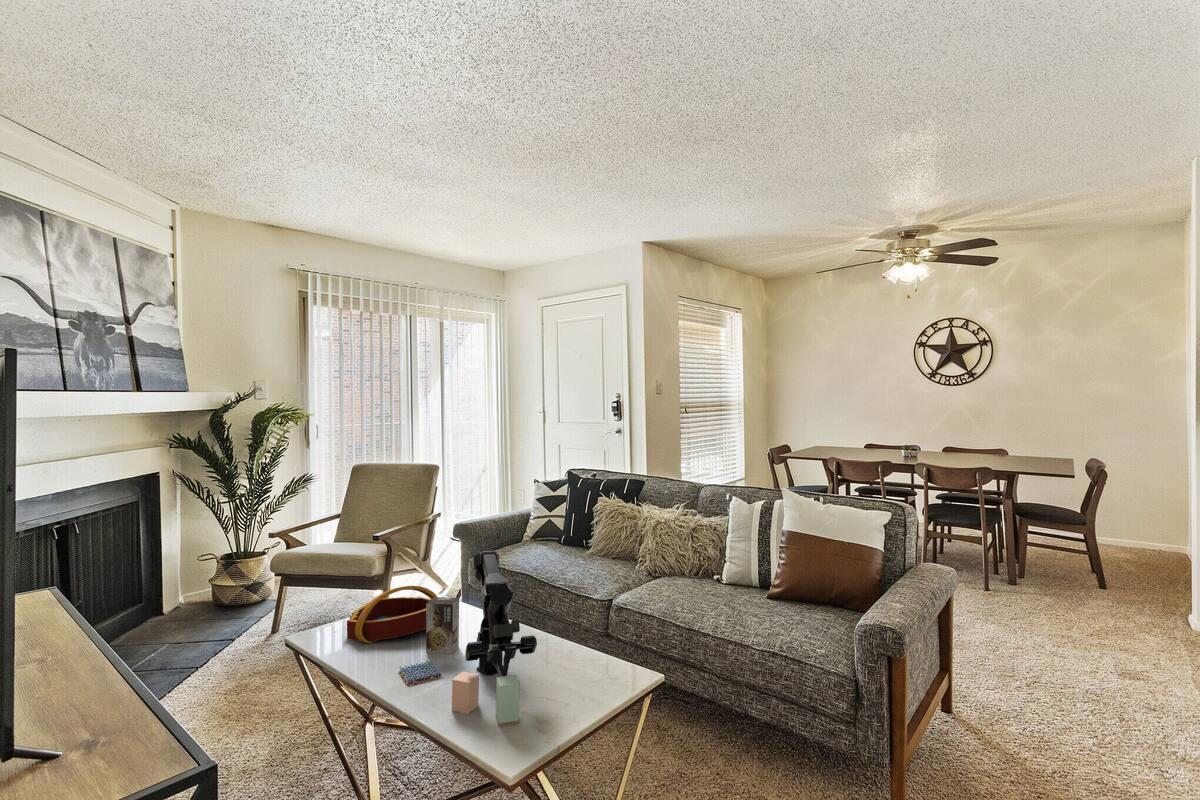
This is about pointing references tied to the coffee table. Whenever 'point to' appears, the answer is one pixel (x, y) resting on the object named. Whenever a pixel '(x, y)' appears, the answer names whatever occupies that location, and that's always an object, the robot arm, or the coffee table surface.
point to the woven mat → (419, 673)
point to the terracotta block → (465, 692)
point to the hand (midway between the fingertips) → (504, 680)
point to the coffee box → (442, 625)
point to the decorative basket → (389, 616)
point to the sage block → (507, 700)
